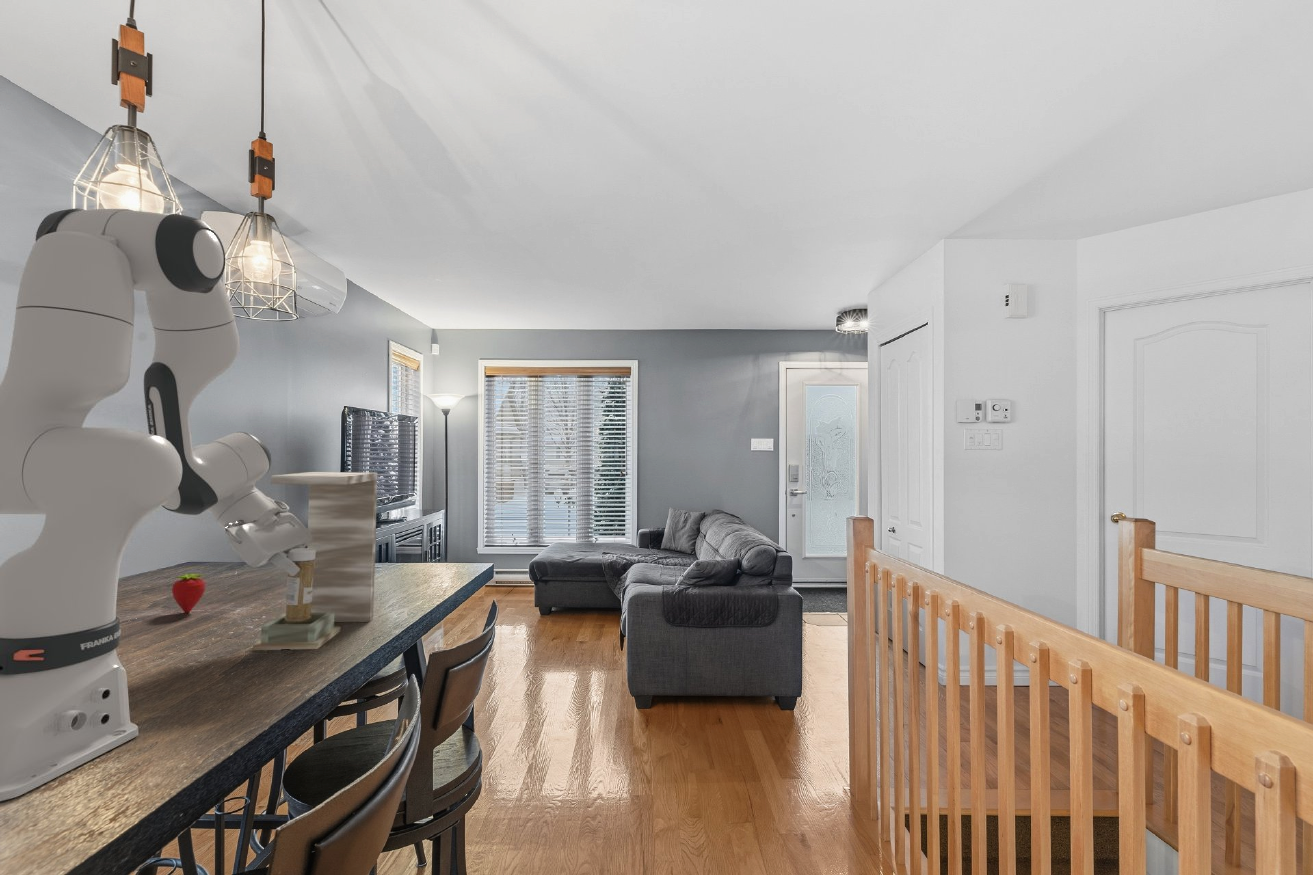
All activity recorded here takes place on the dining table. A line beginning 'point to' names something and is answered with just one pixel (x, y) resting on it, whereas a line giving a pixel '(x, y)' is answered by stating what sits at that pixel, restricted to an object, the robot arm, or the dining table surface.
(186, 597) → the strawberry
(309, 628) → the awning socket
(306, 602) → the sprinkles bottle
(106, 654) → the robot arm
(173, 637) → the dining table surface
